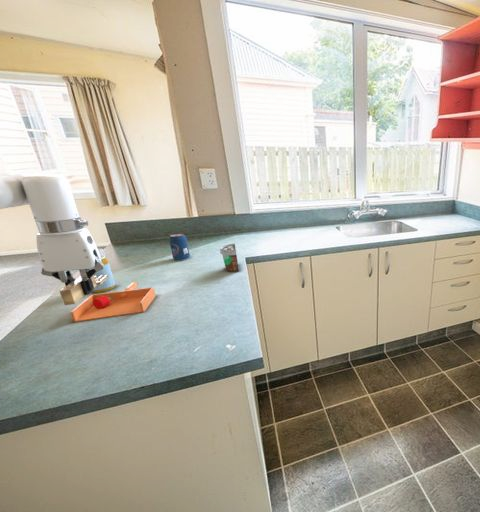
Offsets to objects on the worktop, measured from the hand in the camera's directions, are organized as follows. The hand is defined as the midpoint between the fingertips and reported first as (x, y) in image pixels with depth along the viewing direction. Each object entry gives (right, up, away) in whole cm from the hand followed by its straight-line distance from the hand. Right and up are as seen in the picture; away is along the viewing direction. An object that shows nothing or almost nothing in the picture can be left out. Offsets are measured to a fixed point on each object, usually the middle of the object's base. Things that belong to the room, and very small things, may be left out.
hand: (82, 293), depth 79 cm
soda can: (-18, +8, +65) cm, 67 cm away
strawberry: (-10, -5, +15) cm, 19 cm away
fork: (-1, +1, +3) cm, 3 cm away
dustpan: (-8, -6, +21) cm, 23 cm away
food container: (+13, +4, +52) cm, 54 cm away
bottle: (-23, -3, +30) cm, 38 cm away
